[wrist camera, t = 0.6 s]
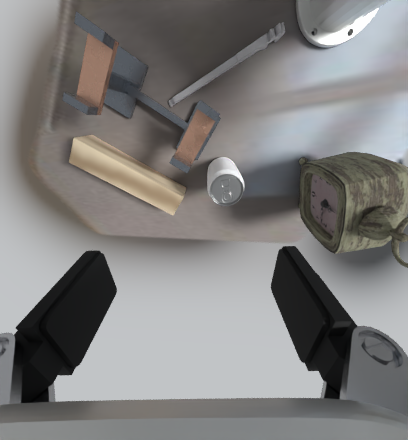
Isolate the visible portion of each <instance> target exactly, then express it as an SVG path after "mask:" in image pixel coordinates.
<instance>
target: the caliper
mask: <svg viewBox="0 0 408 440" xmlns="http://www.w3.org/2000/svg"><path fill="white" fill-rule="evenodd" d="M284 33H285V27H284V22H282V23H281V24H280V23H279V24H277V26H276V27H275V28H271V29H270V31H269V33H267V34H265V35H263V36H262V37H260V38H259V39H257V40H256V41H254V42H253V43H251V44H250V45H248V46H247V47H246V48H244V49H243V50H241V51H240V52H238V53H237V54H236V55H235V56H233V57H232V58H230V59H229V60H227V61H226V62H224V63H223V64H221V65H220V66H218V67H217V68H216V69H214V70H213V71H211V72H210V73H208V74H207V75H205V76H204V77H202V78H201V79H199V80H198V81H196V82H195V83H193V84H192V85H190V86H189V87H188V88H186V89H185V90H183V91H182V92H180V93H179V94H177V95H176V96H174V97H173V98H172V99H171V100H169V101H168V103H169V105H170V107H172V106H174V105H175V104H177V103H178V102H180V101H182V100H183V99H185V98H186V97H188V96H189V95H191V94H192V93H194V92H196V91H197V90H199V89H200V88H202V87H203V86H205V85H206V84H208V83H209V82H211V81H212V80H214V79H215V78H217V77H218V76H220V75H222V74H223V73H225V72H226V71H228V70H229V69H231V68H232V67H234V66H235V65H237V64H238V63H241V62H243V61H244V60H245V59H247V58H249V57H250V56H252V55H253V54H254V53H256V52H257V51H259V50H264V49H266V47H267V44H269V43H270V42H272V41H273V40H274V43H275V42H277V41H278V40H279V39H280V38H281V37H282V36H283V34H284Z"/></svg>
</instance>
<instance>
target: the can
mask: <svg viewBox="0 0 408 440" xmlns="http://www.w3.org/2000/svg"><path fill="white" fill-rule="evenodd" d="M207 190H208V193H209V196H210V197H211V199H212V200H213V201H214V202H215V203H217V204H218V205H221V206H231V205H233V204H235V203H237V202H238V201H239V200H240V199H241V197H242V195H243V192H244V180H243V178H242V176H241V174H240V172H239V170H238V169H237V167H236V165H235V164H234V162H233V161H232V160H230V159H229V158H226V157H220V158H217V159H215V160H213V161H212V162H211V163H210V165H209V167H208V172H207Z"/></svg>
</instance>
